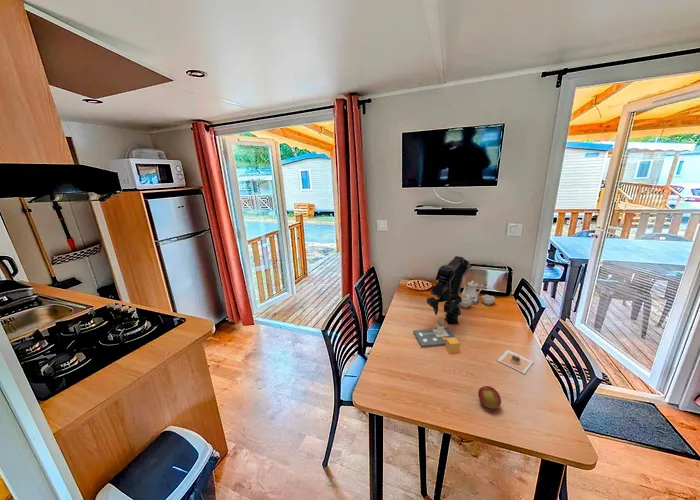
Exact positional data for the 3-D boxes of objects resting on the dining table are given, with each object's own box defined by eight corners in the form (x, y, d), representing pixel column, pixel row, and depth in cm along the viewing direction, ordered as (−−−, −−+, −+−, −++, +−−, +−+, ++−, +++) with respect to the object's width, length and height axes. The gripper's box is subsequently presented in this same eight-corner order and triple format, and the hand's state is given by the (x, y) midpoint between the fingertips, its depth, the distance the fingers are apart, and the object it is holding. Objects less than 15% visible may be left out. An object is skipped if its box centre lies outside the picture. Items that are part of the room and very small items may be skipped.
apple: (492, 396, 111) (494, 380, 108) (503, 413, 103) (506, 397, 101) (474, 397, 111) (476, 381, 108) (484, 414, 103) (486, 398, 101)
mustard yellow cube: (454, 346, 142) (455, 337, 140) (458, 353, 137) (459, 343, 135) (445, 347, 142) (446, 338, 140) (449, 353, 137) (450, 343, 135)
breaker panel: (447, 329, 157) (448, 325, 156) (459, 344, 144) (459, 340, 143) (413, 332, 155) (413, 328, 155) (421, 347, 142) (421, 343, 141)
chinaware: (463, 314, 176) (467, 292, 169) (447, 300, 191) (451, 280, 184) (497, 307, 183) (503, 286, 176) (480, 294, 198) (485, 275, 191)
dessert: (524, 375, 122) (526, 367, 120) (496, 362, 131) (498, 353, 129) (533, 363, 129) (535, 355, 128) (507, 351, 138) (508, 343, 137)
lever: (440, 329, 154) (441, 321, 152) (443, 334, 150) (444, 325, 148) (435, 330, 153) (436, 321, 152) (438, 334, 149) (439, 325, 148)
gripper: (451, 280, 156) (449, 304, 160) (422, 285, 152) (421, 309, 157) (463, 288, 145) (461, 313, 150) (432, 293, 142) (431, 319, 146)
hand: (443, 313), depth 151 cm, fingers open, 9 cm apart
